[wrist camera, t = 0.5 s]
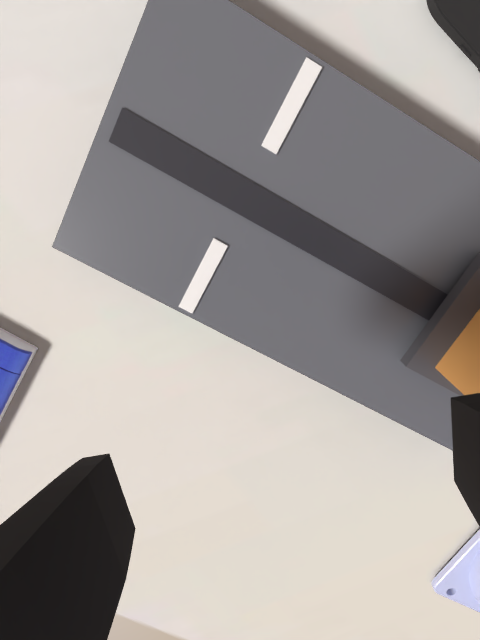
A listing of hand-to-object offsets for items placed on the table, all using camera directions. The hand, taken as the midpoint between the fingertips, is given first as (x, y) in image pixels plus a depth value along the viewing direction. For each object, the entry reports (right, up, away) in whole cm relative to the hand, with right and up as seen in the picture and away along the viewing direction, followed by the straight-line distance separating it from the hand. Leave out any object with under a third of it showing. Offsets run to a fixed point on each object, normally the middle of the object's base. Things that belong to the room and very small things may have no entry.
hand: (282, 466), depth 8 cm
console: (+3, +6, +8) cm, 11 cm away
